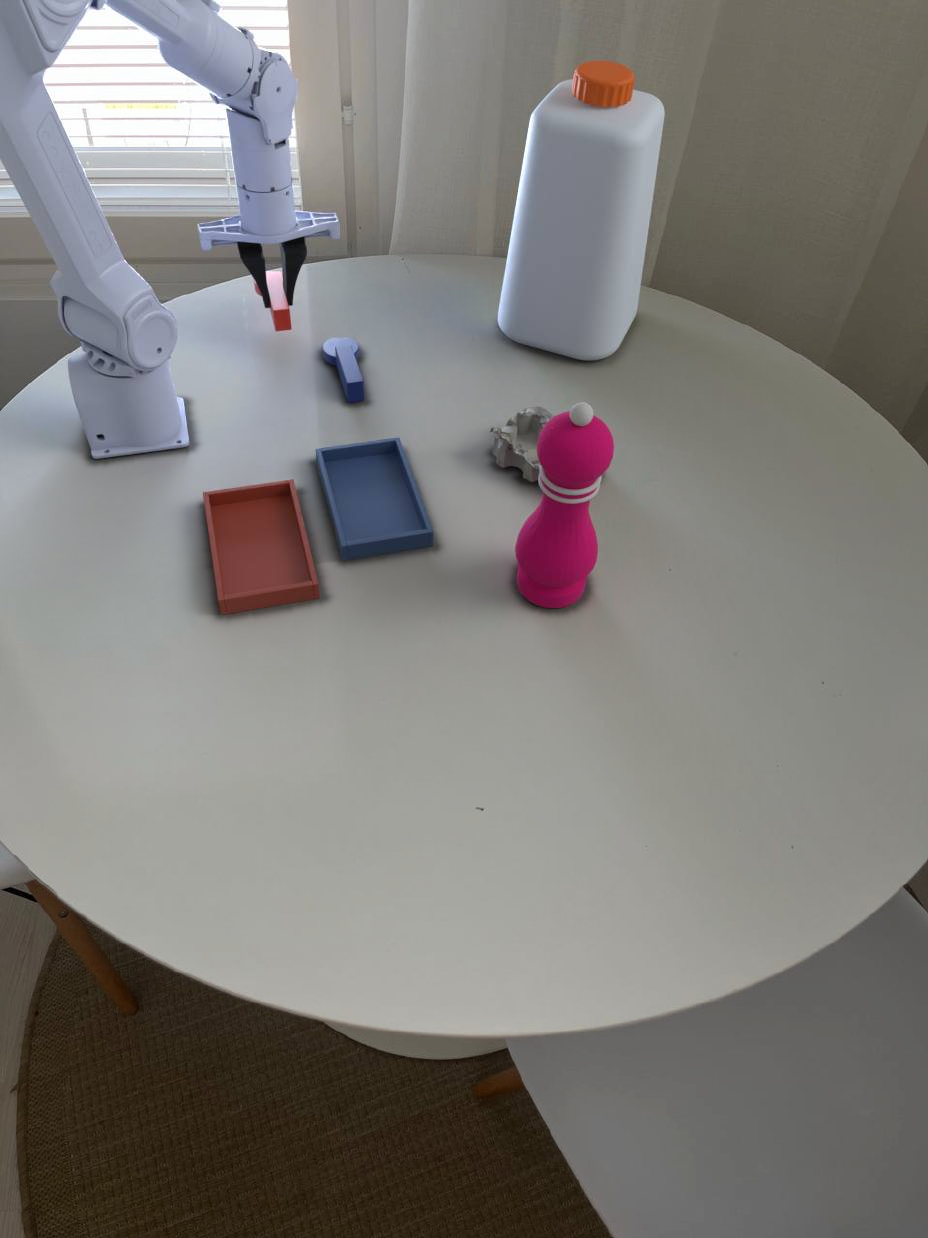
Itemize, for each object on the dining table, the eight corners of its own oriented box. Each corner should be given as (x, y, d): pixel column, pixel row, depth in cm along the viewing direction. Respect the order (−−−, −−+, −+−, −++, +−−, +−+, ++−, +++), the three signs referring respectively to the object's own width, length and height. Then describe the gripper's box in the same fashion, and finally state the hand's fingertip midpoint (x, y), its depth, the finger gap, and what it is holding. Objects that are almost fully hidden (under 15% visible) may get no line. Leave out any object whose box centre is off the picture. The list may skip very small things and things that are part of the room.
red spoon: (301, 328, 101) (299, 307, 99) (265, 332, 100) (262, 311, 99) (287, 278, 108) (284, 257, 106) (253, 281, 107) (250, 260, 105)
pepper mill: (584, 620, 80) (627, 442, 65) (504, 605, 81) (528, 426, 66) (593, 562, 85) (635, 384, 70) (517, 548, 86) (542, 368, 70)
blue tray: (342, 561, 84) (341, 546, 82) (316, 463, 92) (315, 448, 91) (433, 546, 85) (433, 531, 84) (399, 451, 94) (399, 436, 92)
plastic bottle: (642, 308, 114) (697, 60, 92) (608, 373, 104) (660, 114, 83) (529, 278, 117) (557, 32, 95) (486, 339, 108) (506, 81, 86)
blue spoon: (374, 399, 99) (373, 379, 97) (338, 404, 98) (336, 384, 96) (355, 343, 106) (354, 324, 104) (320, 347, 105) (319, 327, 103)
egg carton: (482, 458, 94) (484, 426, 91) (525, 424, 98) (529, 393, 95) (565, 506, 90) (571, 474, 87) (607, 469, 94) (614, 437, 91)
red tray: (221, 615, 79) (218, 600, 77) (205, 506, 87) (202, 491, 86) (320, 598, 81) (318, 583, 79) (295, 493, 89) (293, 478, 88)
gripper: (328, 157, 96) (335, 277, 106) (186, 167, 92) (208, 289, 103) (340, 188, 91) (346, 310, 102) (193, 199, 88) (215, 323, 99)
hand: (278, 302), depth 102 cm, fingers closed on red spoon, 2 cm apart
